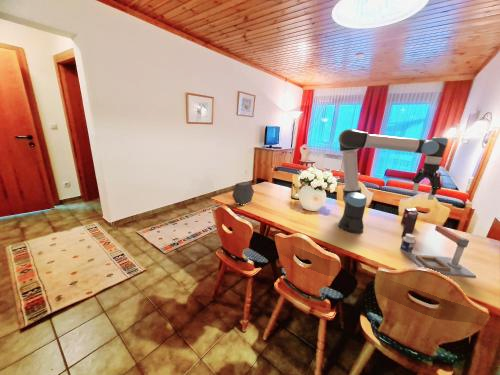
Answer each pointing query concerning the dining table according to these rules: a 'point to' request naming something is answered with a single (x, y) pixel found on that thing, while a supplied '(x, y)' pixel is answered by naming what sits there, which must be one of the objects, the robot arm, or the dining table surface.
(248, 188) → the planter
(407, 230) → the supplement box
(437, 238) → the dining table surface
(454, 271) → the latch board
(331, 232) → the dining table surface
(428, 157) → the robot arm
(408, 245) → the pill bottle
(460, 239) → the bar
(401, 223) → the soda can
